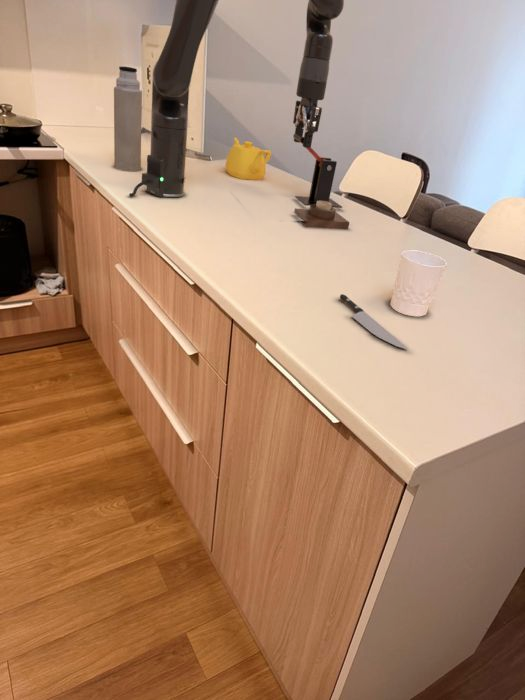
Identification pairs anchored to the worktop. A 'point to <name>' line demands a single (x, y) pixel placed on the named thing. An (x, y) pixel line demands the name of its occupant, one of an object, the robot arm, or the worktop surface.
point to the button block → (321, 218)
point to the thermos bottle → (127, 120)
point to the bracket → (321, 183)
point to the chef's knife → (371, 323)
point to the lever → (308, 148)
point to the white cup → (416, 282)
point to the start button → (323, 205)
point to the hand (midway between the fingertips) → (301, 144)
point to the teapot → (247, 161)
